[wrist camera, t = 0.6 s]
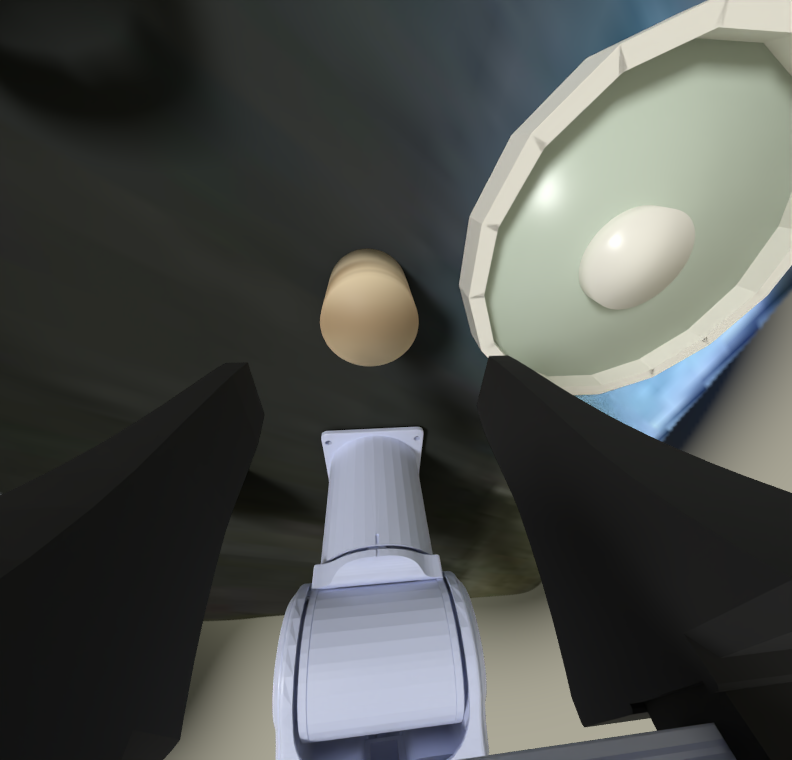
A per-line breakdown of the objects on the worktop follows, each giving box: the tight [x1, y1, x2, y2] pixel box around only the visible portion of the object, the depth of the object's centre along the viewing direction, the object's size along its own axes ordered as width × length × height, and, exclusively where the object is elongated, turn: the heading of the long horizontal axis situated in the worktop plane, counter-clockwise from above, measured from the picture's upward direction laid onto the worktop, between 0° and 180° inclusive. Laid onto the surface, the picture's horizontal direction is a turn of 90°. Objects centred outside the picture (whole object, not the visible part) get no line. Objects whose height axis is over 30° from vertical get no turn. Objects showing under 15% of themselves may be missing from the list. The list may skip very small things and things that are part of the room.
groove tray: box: [459, 0, 792, 395], centre depth 16 cm, size 18×18×2 cm
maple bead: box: [320, 249, 419, 366], centre depth 15 cm, size 4×4×4 cm
